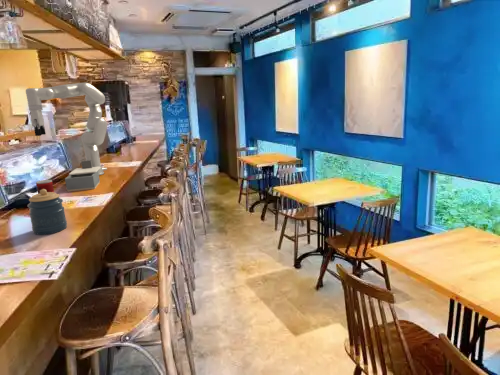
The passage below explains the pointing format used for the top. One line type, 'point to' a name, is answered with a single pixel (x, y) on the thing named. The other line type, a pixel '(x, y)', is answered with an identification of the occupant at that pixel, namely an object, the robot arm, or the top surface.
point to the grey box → (82, 181)
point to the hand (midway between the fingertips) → (40, 135)
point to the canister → (47, 213)
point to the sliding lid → (85, 168)
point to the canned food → (45, 185)
